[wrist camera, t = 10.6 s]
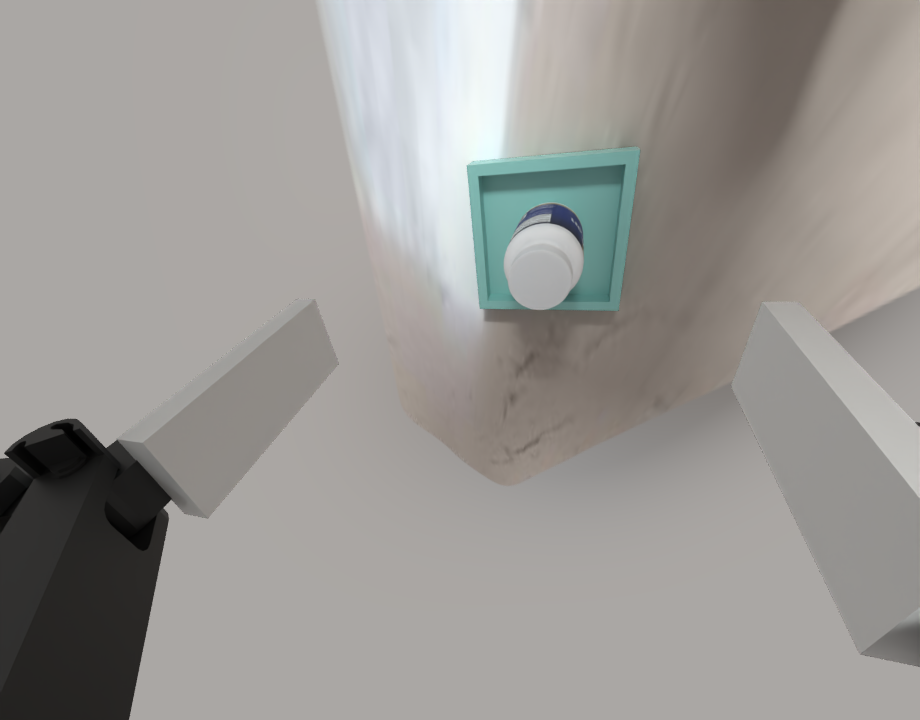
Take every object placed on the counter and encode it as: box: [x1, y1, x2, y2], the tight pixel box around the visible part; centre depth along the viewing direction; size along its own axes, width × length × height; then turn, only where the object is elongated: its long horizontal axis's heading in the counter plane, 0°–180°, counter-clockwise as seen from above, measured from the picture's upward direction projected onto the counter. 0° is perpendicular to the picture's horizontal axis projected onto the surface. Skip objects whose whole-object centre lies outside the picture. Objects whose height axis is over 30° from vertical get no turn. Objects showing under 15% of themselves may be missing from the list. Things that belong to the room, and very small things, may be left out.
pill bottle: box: [504, 202, 584, 310], centre depth 28 cm, size 5×5×10 cm
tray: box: [467, 146, 640, 311], centre depth 31 cm, size 12×12×2 cm
